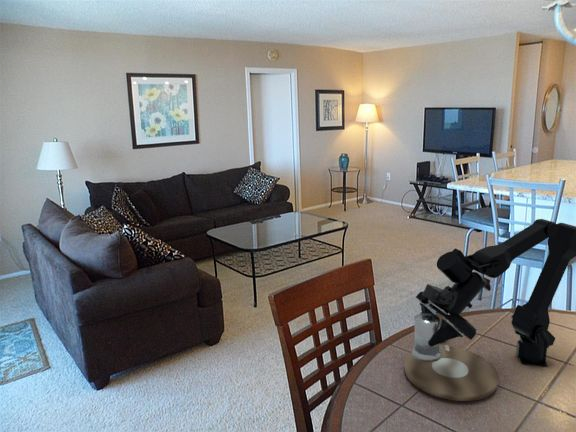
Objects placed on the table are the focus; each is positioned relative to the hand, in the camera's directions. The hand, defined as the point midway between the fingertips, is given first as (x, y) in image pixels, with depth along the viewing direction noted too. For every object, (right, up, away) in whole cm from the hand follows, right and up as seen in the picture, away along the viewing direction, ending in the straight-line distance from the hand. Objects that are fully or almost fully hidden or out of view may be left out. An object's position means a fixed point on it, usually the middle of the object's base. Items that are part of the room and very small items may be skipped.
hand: (422, 339), depth 112 cm
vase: (+12, -7, +25) cm, 28 cm away
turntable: (+9, -11, +5) cm, 15 cm away
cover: (+2, -4, +1) cm, 5 cm away
